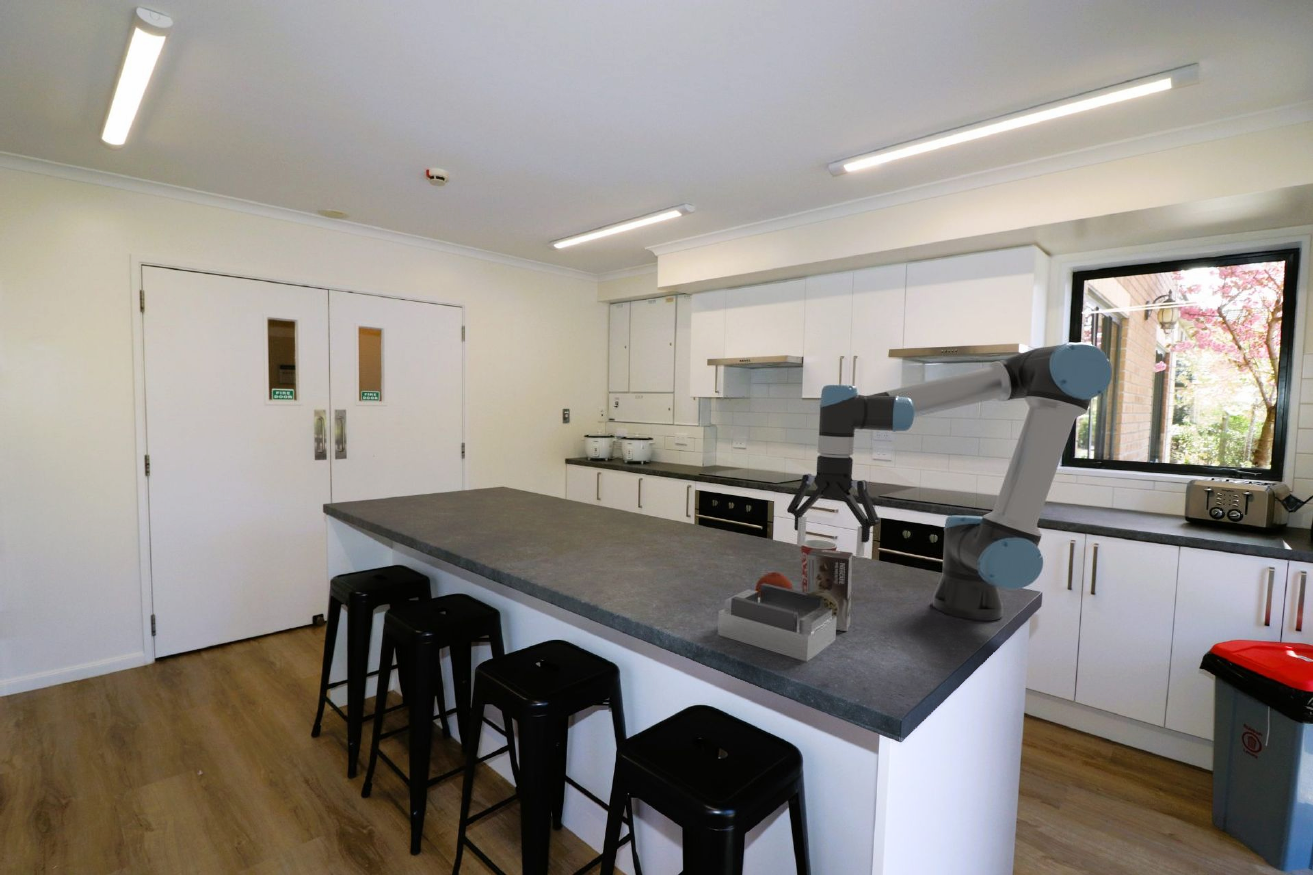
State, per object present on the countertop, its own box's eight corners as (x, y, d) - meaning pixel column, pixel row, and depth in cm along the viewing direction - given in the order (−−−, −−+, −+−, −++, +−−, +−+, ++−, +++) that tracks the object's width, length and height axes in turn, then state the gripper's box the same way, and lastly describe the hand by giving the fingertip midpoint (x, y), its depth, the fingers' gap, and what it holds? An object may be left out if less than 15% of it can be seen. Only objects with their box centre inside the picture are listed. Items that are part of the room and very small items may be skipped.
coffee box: (850, 622, 138) (854, 552, 137) (846, 632, 132) (850, 558, 131) (809, 615, 142) (812, 547, 141) (804, 624, 136) (807, 553, 135)
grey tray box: (835, 640, 127) (837, 600, 127) (807, 661, 116) (808, 617, 116) (750, 616, 140) (752, 580, 139) (717, 634, 129) (719, 594, 128)
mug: (826, 604, 150) (828, 549, 149) (792, 595, 156) (794, 543, 155) (846, 592, 160) (848, 541, 159) (813, 584, 166) (815, 535, 165)
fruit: (752, 598, 153) (753, 567, 152) (788, 599, 153) (789, 568, 152) (757, 610, 144) (758, 577, 144) (795, 612, 144) (796, 578, 143)
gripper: (898, 459, 130) (892, 558, 131) (790, 450, 145) (785, 538, 146) (887, 461, 124) (880, 565, 125) (775, 451, 139) (770, 543, 140)
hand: (829, 550), depth 136 cm, fingers open, 13 cm apart
